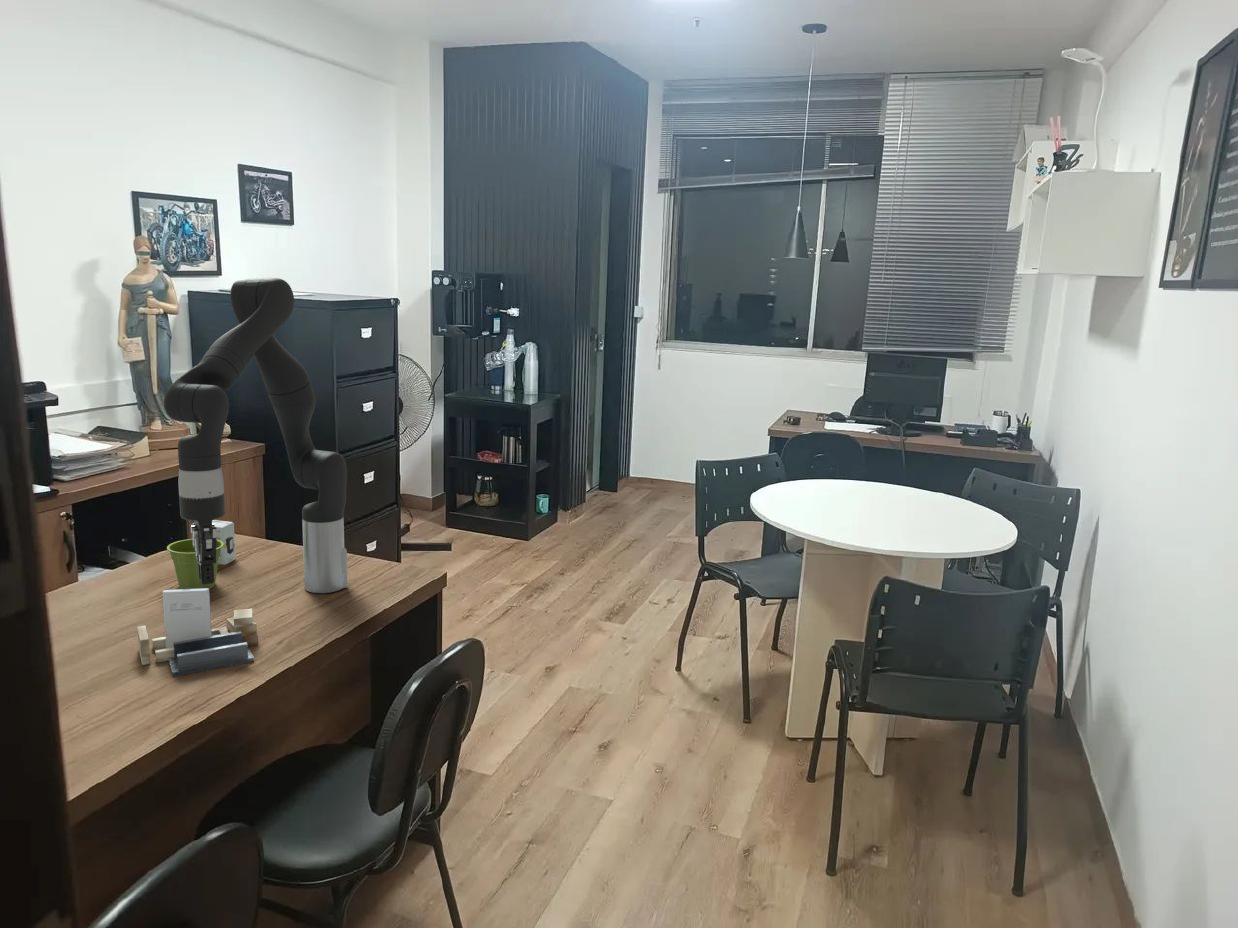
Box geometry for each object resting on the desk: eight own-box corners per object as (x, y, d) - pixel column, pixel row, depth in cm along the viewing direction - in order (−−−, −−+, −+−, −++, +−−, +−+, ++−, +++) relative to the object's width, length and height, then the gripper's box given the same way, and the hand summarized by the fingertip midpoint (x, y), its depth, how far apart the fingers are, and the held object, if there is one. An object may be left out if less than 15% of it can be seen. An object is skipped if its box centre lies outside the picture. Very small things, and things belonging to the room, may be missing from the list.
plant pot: (204, 602, 193) (202, 555, 191) (158, 597, 195) (154, 550, 193) (236, 585, 205) (234, 540, 202) (192, 580, 207) (189, 535, 204)
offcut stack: (251, 631, 179) (250, 605, 177) (258, 643, 173) (257, 617, 172) (226, 635, 176) (225, 609, 175) (232, 648, 170) (231, 621, 169)
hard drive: (168, 648, 169) (163, 589, 166) (212, 646, 171) (209, 587, 168) (166, 652, 167) (161, 592, 165) (211, 649, 169) (207, 590, 167)
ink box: (193, 569, 215) (191, 523, 212) (206, 563, 219) (203, 518, 217) (225, 572, 213) (222, 526, 211) (236, 566, 218) (234, 521, 216)
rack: (226, 635, 176) (225, 612, 175) (232, 648, 170) (231, 625, 169) (138, 650, 167) (137, 626, 166) (142, 664, 161) (140, 640, 160)
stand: (247, 647, 171) (246, 629, 170) (253, 661, 165) (253, 643, 164) (168, 661, 163) (167, 643, 162) (172, 676, 157) (171, 657, 157)
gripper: (230, 498, 154) (234, 589, 157) (218, 482, 165) (222, 567, 168) (183, 502, 150) (189, 595, 153) (174, 485, 161) (179, 572, 164)
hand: (206, 580), depth 161 cm, fingers closed
